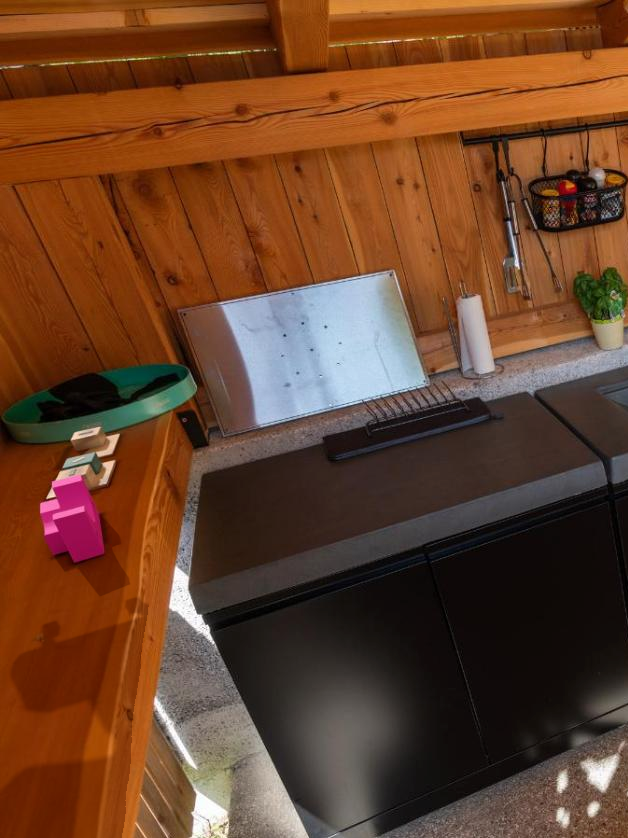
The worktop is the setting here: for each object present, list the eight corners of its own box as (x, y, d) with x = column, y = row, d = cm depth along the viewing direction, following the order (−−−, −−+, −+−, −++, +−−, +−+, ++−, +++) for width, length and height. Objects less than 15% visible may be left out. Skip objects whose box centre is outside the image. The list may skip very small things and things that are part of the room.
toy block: (52, 527, 122) (32, 486, 119) (99, 514, 126) (80, 474, 122) (53, 569, 112) (31, 525, 108) (104, 553, 115) (84, 511, 112)
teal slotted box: (68, 480, 137) (61, 467, 136) (73, 470, 141) (66, 458, 140) (97, 473, 139) (91, 460, 138) (101, 463, 143) (95, 451, 141)
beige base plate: (47, 501, 132) (38, 486, 131) (60, 476, 141) (51, 461, 139) (108, 486, 135) (99, 470, 134) (116, 462, 144) (109, 447, 143)
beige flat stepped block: (57, 469, 144) (49, 454, 142) (68, 448, 152) (61, 434, 151) (113, 456, 147) (106, 441, 145) (121, 436, 156) (114, 422, 154)
